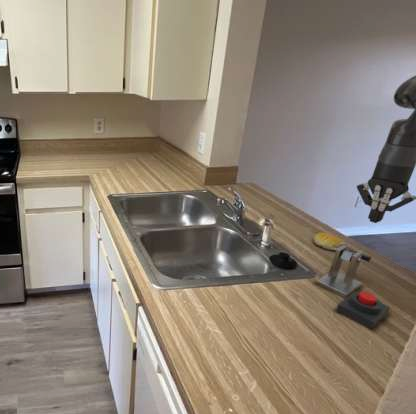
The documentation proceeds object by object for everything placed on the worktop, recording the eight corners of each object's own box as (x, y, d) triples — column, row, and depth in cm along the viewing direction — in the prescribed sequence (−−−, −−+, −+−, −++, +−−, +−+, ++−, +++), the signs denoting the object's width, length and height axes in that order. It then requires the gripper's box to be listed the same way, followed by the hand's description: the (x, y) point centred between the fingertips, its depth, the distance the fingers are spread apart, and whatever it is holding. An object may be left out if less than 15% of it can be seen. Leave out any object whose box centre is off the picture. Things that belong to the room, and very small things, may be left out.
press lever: (348, 254, 103) (351, 247, 103) (368, 262, 99) (372, 255, 99) (333, 255, 96) (337, 248, 96) (355, 264, 92) (359, 256, 91)
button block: (352, 297, 93) (357, 285, 92) (387, 313, 87) (392, 301, 86) (336, 310, 88) (340, 298, 87) (371, 329, 82) (377, 316, 80)
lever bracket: (331, 272, 104) (342, 240, 99) (360, 285, 98) (373, 251, 93) (315, 283, 99) (326, 249, 94) (345, 298, 93) (358, 262, 88)
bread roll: (322, 237, 125) (325, 228, 124) (346, 248, 118) (350, 238, 116) (307, 241, 123) (309, 231, 121) (330, 253, 115) (333, 243, 113)
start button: (360, 295, 89) (363, 290, 88) (377, 302, 86) (379, 297, 85) (355, 300, 87) (357, 294, 86) (371, 308, 84) (373, 302, 83)
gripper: (435, 165, 82) (408, 227, 89) (372, 154, 92) (353, 210, 99) (425, 170, 78) (397, 234, 85) (360, 157, 89) (341, 216, 96)
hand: (373, 221), depth 92 cm, fingers closed
